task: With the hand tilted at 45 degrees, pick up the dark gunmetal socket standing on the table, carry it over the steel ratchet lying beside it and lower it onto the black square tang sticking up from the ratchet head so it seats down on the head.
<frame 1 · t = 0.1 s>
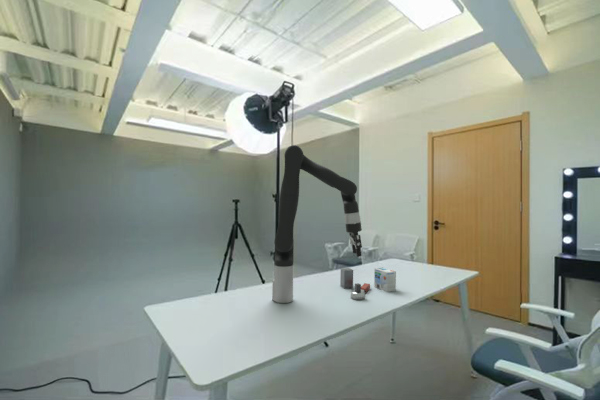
hand: (357, 254, 140), 22 cm above the table, tool pointing down, fingers open, 8 cm apart
socket: (346, 286, 162), on the table
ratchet: (357, 298, 143), on the table
light bulb box: (384, 289, 159), on the table
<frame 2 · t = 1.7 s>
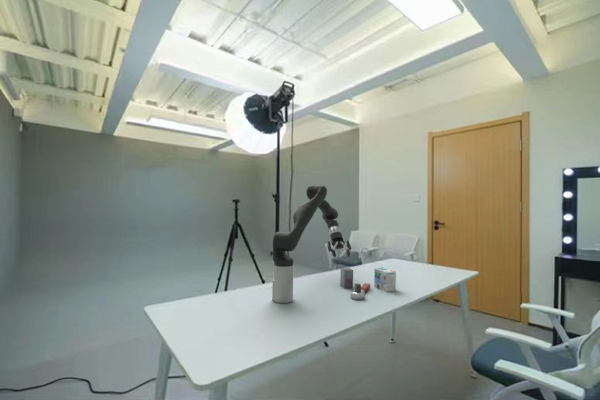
hand: (342, 256, 172), 16 cm above the table, tool tilted 45°, fingers open, 8 cm apart
nothing on the table moved.
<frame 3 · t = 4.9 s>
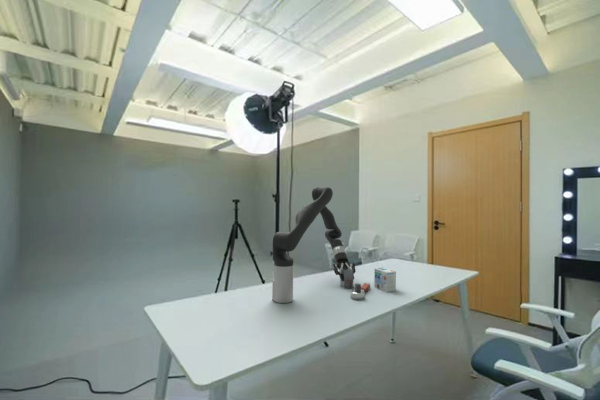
hand: (348, 280, 161), 4 cm above the table, tool tilted 45°, fingers closed on socket, 5 cm apart
socket: (346, 286, 162), on the table, touching gripper
everything else where it was.
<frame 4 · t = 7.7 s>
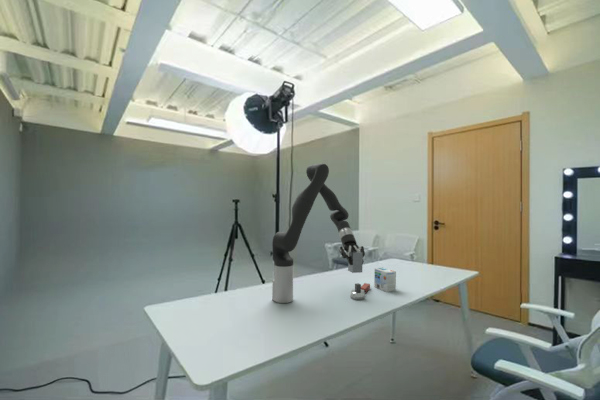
hand: (356, 263, 145), 17 cm above the table, tool tilted 45°, fingers closed on socket, 5 cm apart
socket: (355, 271, 147), point 13 cm above the table, touching gripper
everything else where it was.
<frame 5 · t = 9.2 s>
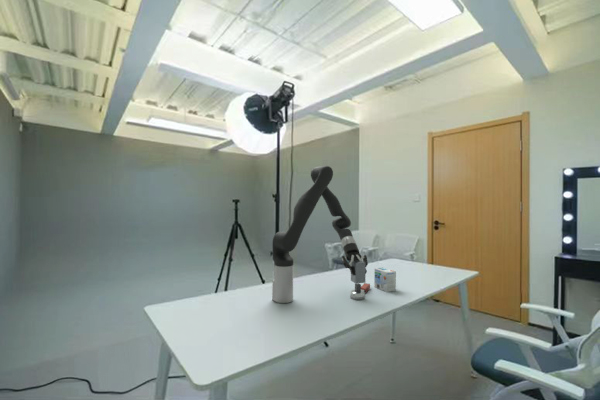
hand: (359, 274, 142), 12 cm above the table, tool tilted 45°, fingers closed on socket, 5 cm apart
socket: (358, 281, 143), point 8 cm above the table, touching gripper
everything else where it was.
when the fingers open (9 cm above the table, at t = 10.5 s): socket drops 1 cm, resting on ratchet.
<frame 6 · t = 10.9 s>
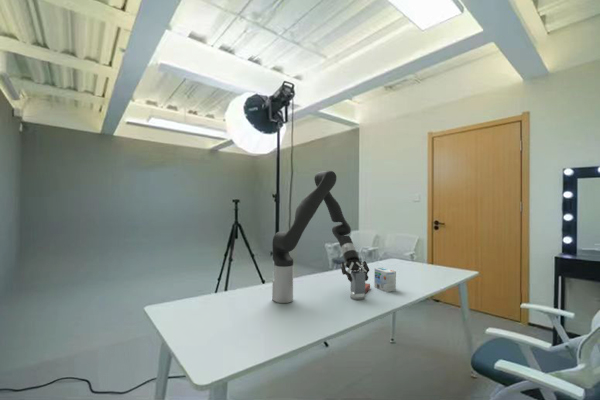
hand: (359, 280, 142), 9 cm above the table, tool tilted 45°, fingers open, 8 cm apart
socket: (357, 292, 143), point 3 cm above the table, touching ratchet
everything else where it was.
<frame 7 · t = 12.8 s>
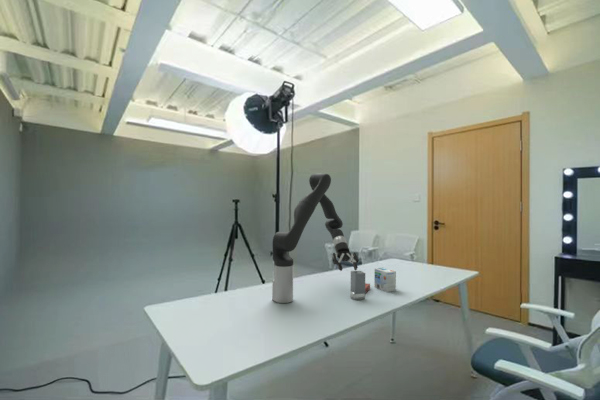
hand: (348, 269, 153), 12 cm above the table, tool tilted 45°, fingers open, 8 cm apart
nothing on the table moved.
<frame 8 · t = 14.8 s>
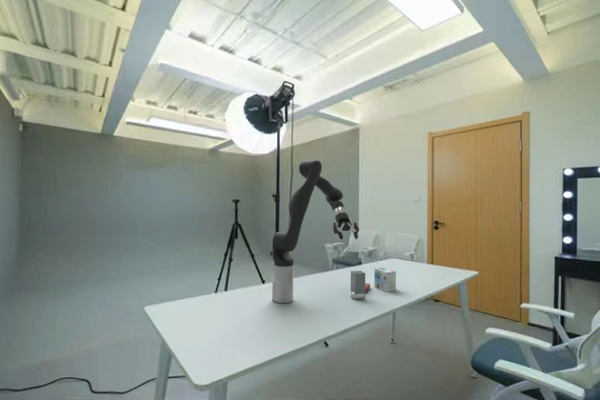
hand: (349, 238, 154), 29 cm above the table, tool tilted 45°, fingers open, 8 cm apart
nothing on the table moved.
at the end: socket 0.0 cm off-centre on the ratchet, point 3.0 cm above the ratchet's base; socket tilted 0°; the gripper is holding nothing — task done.
